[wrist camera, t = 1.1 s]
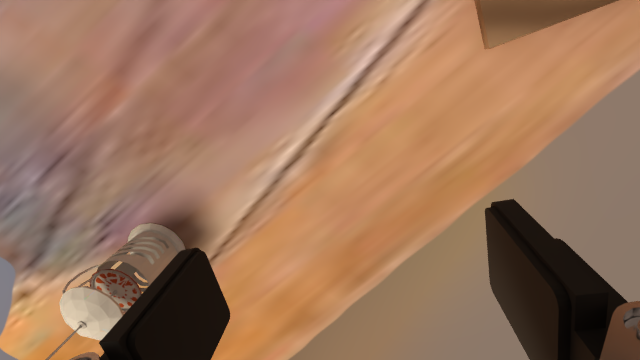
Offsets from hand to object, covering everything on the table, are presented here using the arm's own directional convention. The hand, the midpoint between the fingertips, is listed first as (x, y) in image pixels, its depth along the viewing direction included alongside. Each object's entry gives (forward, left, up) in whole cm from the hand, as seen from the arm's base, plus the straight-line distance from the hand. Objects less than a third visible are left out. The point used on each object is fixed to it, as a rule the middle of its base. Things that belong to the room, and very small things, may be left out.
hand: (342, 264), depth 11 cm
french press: (+10, -38, -32) cm, 50 cm away
